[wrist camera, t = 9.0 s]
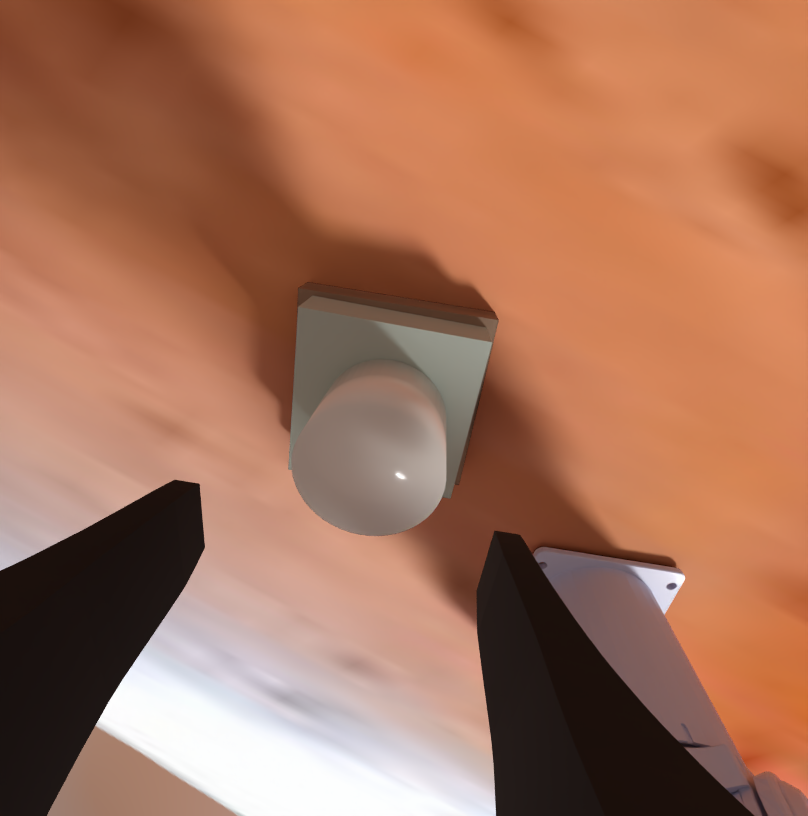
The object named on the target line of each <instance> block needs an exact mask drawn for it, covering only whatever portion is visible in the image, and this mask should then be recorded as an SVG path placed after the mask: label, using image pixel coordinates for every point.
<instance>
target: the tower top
mask: <svg viewBox="0 0 808 816" xmlns="http://www.w3.org/2000/svg"><path fill="white" fill-rule="evenodd" d="M491 346H492V340H491V338H490V335H489V333H488V330H487V328H486V327H481V326H475V325H470V324H464V323H459V322H454V321H448V320H443V319H437V318H432V317H426V316H421V315H416V314H410V313H405V312H399V311H394V310H388V309H383V308H378V307H372V306H367V305H361V304H356V303H350V302H345V301H340V300H334V299H329V298H323V297H318V296H311V297H310V298H309V299H308V300H306V301H305V302H304V303H302V304H301V305H300V306H299V307H298V317H297V334H296V351H295V367H294V384H293V401H292V417H291V434H290V451H289V467H288V469H289V470H292V453H293V449H294V445H295V442H296V440H297V438H298V436H299V434H300V433H301V431H302V430H303V428H304V427H305V425H306V424H307V422H308V421H309V419H310V418H311V416H312V415H313V413H314V412H315V410H316V408H317V407H318V405H319V404H320V402H321V401H322V399H323V398H324V396H325V395H326V393H327V392H328V390H329V389H330V387H331V385H332V384H333V383H334V381H335V380H336V379H337V378H338V377H339V376H340V375H341V374H342V373H343V372H344V371H346V370H347V369H349V368H350V367H352V366H354V365H356V364H358V363H361V362H365V361H368V360H375V359H388V360H395V361H399V362H403V363H405V364H408V365H410V366H412V367H414V368H416V369H418V370H419V371H421V372H422V373H423V374H425V375H426V376H427V377H428V378H429V379H430V380H431V381H432V382H433V383H434V385H435V386H436V387H437V389H438V391H439V392H440V394H441V396H442V399H443V401H444V405H445V409H446V485H445V490H444V493H443V496H442V497H444V498H450V499H451V495H452V491H453V487H454V484H455V480H456V476H457V472H458V469H459V465H460V461H461V458H462V454H463V450H464V446H465V443H466V439H467V435H468V431H469V428H470V424H471V420H472V416H473V413H474V409H475V405H476V402H477V398H478V394H479V390H480V387H481V383H482V379H483V375H484V372H485V368H486V364H487V360H488V357H489V353H490V349H491Z"/></svg>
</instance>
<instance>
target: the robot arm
mask: <svg viewBox="0 0 808 816" xmlns="http://www.w3.org/2000/svg"><path fill="white" fill-rule="evenodd" d="M204 548H205V543H204V532H203V520H202V508H201V496H200V485H199V484H198V483H192V482H185V481H179V480H173V481H171V482H169V483H167V484H165V485H164V486H162V487H160V488H158V489H156V490H154V491H153V492H151V493H149V494H147V495H145V496H144V497H142V498H140V499H138V500H136V501H135V502H133V503H131V504H129V505H127V506H126V507H124V508H122V509H120V510H119V511H117V512H115V513H113V514H111V515H109V516H108V517H106V518H104V519H102V520H100V521H98V522H97V523H95V524H93V525H91V526H89V527H88V528H86V529H84V530H82V531H80V532H78V533H76V534H74V535H72V536H70V537H68V538H66V539H64V540H62V541H60V542H58V543H56V544H54V545H52V546H50V547H49V548H47V549H45V550H43V551H41V552H39V553H37V554H35V555H33V556H31V557H29V558H27V559H25V560H23V561H20V562H18V563H16V564H14V565H12V566H10V567H8V568H5V569H3V570H1V571H0V816H47V814H48V812H49V810H50V808H51V806H52V804H53V802H54V801H55V799H56V797H57V795H58V793H59V791H60V789H61V787H62V786H63V784H64V782H65V780H66V778H67V776H68V774H69V772H70V770H71V769H72V767H73V765H74V763H75V761H76V759H77V757H78V756H79V754H80V752H81V750H82V748H83V746H84V745H85V743H86V741H87V739H88V738H89V736H90V734H91V732H92V730H93V729H94V727H95V725H96V723H97V721H98V720H99V718H100V716H101V714H102V713H103V711H104V709H105V707H106V705H107V704H108V702H109V700H110V699H111V697H112V695H113V694H114V692H115V691H116V689H117V687H118V686H119V684H120V683H121V681H122V679H123V678H124V676H125V675H126V674H127V672H128V671H129V669H130V668H131V666H132V665H133V663H134V662H135V660H136V659H137V657H138V656H139V654H140V653H141V651H142V650H143V648H144V647H145V646H146V644H147V643H148V641H149V640H150V638H151V637H152V635H153V634H154V632H155V631H156V629H157V628H158V626H159V625H160V623H161V622H162V620H163V619H164V618H165V616H166V615H167V613H168V612H169V610H170V609H171V607H172V606H173V604H174V603H175V601H176V600H177V598H178V597H179V595H180V593H181V592H182V590H183V589H184V587H185V586H186V584H187V582H188V580H189V578H190V576H191V574H192V572H193V571H194V569H195V567H196V565H197V563H198V560H199V558H200V556H201V554H202V552H203V550H204ZM540 562H544V563H542V564H539V563H540ZM684 580H685V576H684V574H683V572H682V571H681V570H680V569H678V568H674V567H668V566H662V565H655V564H649V563H643V562H637V561H630V560H624V559H618V558H612V557H605V556H599V555H593V554H586V553H580V552H574V551H568V550H561V549H555V548H549V547H540V548H538V549H536V550H535V552H534V554H532V553H531V551H530V550H529V548H528V546H527V545H526V543H525V542H524V540H523V539H522V537H521V536H520V535H518V534H512V533H505V532H499V531H494V535H493V538H492V541H491V545H490V548H489V551H488V555H487V558H486V561H485V565H484V568H483V571H482V575H481V578H480V582H479V585H478V588H477V634H478V642H479V650H480V658H481V666H482V673H483V681H484V688H485V696H486V703H487V711H488V718H489V726H490V733H491V741H492V752H493V762H494V780H495V801H496V816H808V799H807V798H806V796H805V795H804V794H803V793H802V792H801V791H800V790H799V789H797V788H795V787H794V786H792V785H790V784H788V783H786V782H784V781H781V780H780V779H779V778H778V777H777V776H776V775H775V774H773V773H771V772H763V773H761V774H758V775H756V776H754V775H753V774H752V772H751V771H750V770H749V769H748V768H747V766H746V765H745V763H744V761H743V760H742V758H741V756H740V754H739V752H738V750H737V749H736V747H735V745H734V743H733V741H732V739H731V737H730V736H729V734H728V732H727V730H726V728H725V726H724V724H723V723H722V721H721V719H720V717H719V715H718V713H717V712H716V710H715V708H714V706H713V704H712V702H711V700H710V699H709V697H708V695H707V693H706V691H705V689H704V687H703V686H702V684H701V682H700V680H699V678H698V676H697V675H696V673H695V671H694V669H693V667H692V665H691V663H690V662H689V660H688V658H687V656H686V654H685V652H684V650H683V649H682V647H681V645H680V643H679V641H678V639H677V638H676V636H675V634H674V632H673V630H672V628H671V626H670V625H669V623H668V621H667V619H666V617H665V615H664V614H665V613H666V611H667V609H668V607H669V606H670V604H671V602H672V601H673V599H674V597H675V595H676V594H677V592H678V590H679V589H680V587H681V585H682V584H683V582H684ZM669 583H670V584H669Z"/></svg>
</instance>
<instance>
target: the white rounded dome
mask: <svg viewBox="0 0 808 816" xmlns="http://www.w3.org/2000/svg"><path fill="white" fill-rule="evenodd" d="M292 474H293V478H294V482H295V485H296V487H297V489H298V491H299V493H300V495H301V497H302V498H303V500H304V501H305V502H306V504H307V505H308V506H309V507H310V508H311V509H312V510H313V511H314V512H315V513H316V514H317V515H318V516H320V517H321V518H322V519H323V520H325V521H327V522H328V523H330V524H331V525H333V526H335V527H338V528H340V529H342V530H345V531H348V532H351V533H355V534H360V535H367V536H384V535H391V534H396V533H400V532H403V531H406V530H408V529H411V528H413V527H415V526H416V525H418V524H420V523H421V522H422V521H424V520H425V519H426V518H427V517H428V516H429V515H430V514H431V513H432V512H433V511H434V510H435V508H436V507H437V506H438V504H439V502H440V500H441V498H442V496H443V493H444V490H445V485H446V409H445V405H444V401H443V399H442V396H441V394H440V392H439V391H438V389H437V387H436V386H435V385H434V383H433V382H432V381H431V380H430V379H429V378H428V377H427V376H426V375H425V374H423V373H422V372H421V371H419V370H418V369H416V368H414V367H412V366H410V365H408V364H405V363H403V362H399V361H395V360H388V359H375V360H368V361H365V362H361V363H358V364H356V365H354V366H352V367H350V368H349V369H347V370H346V371H344V372H343V373H342V374H341V375H340V376H339V377H338V378H337V379H336V380H335V381H334V383H333V384H332V385H331V387H330V389H329V390H328V392H327V393H326V395H325V396H324V398H323V399H322V401H321V402H320V404H319V405H318V407H317V408H316V410H315V412H314V413H313V415H312V416H311V418H310V419H309V421H308V422H307V424H306V425H305V427H304V428H303V430H302V431H301V433H300V434H299V436H298V438H297V440H296V442H295V445H294V449H293V453H292Z"/></svg>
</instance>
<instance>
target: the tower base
mask: <svg viewBox="0 0 808 816" xmlns="http://www.w3.org/2000/svg"><path fill="white" fill-rule="evenodd" d="M311 296H318V297H323V298H329V299H334V300H340V301H345V302H350V303H356V304H361V305H367V306H372V307H378V308H383V309H388V310H394V311H399V312H405V313H410V314H416V315H421V316H426V317H432V318H437V319H443V320H448V321H454V322H459V323H464V324H470V325H475V326H481V327H486V328H487V330H488V333H489V335H490V338H491V340H492V346H493V341H494V337H495V333H496V329H497V325H498V321H499V320H498V318H497V316H496V314H495V312H491V311H485V310H479V309H473V308H466V307H460V306H454V305H448V304H441V303H435V302H429V301H422V300H416V299H410V298H404V297H397V296H391V295H385V294H379V293H372V292H366V291H360V290H353V289H347V288H341V287H335V286H328V285H322V284H316V283H310V282H307V283H306V284H304V285H302V286H301V287H299V288H298V307H299V306H300V305H301V304H302V303H304V302H305V301H306V300H308V299H309V298H310V297H311ZM297 317H298V308H297ZM492 346H491V349H490V353H489V357H488V360H487V364H486V368H485V372H484V375H483V379H482V383H481V387H480V390H479V394H478V398H477V402H476V405H475V409H474V413H473V416H472V420H471V424H470V428H469V431H468V435H467V439H466V443H465V446H464V450H463V454H462V458H461V461H460V465H459V469H458V472H457V476H456V480H455V485H459V482H460V478H461V474H462V470H463V466H464V462H465V458H466V453H467V449H468V445H469V441H470V437H471V433H472V429H473V424H474V420H475V416H476V412H477V408H478V404H479V399H480V395H481V391H482V387H483V383H484V379H485V375H486V370H487V366H488V362H489V358H490V354H491V350H492Z"/></svg>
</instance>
